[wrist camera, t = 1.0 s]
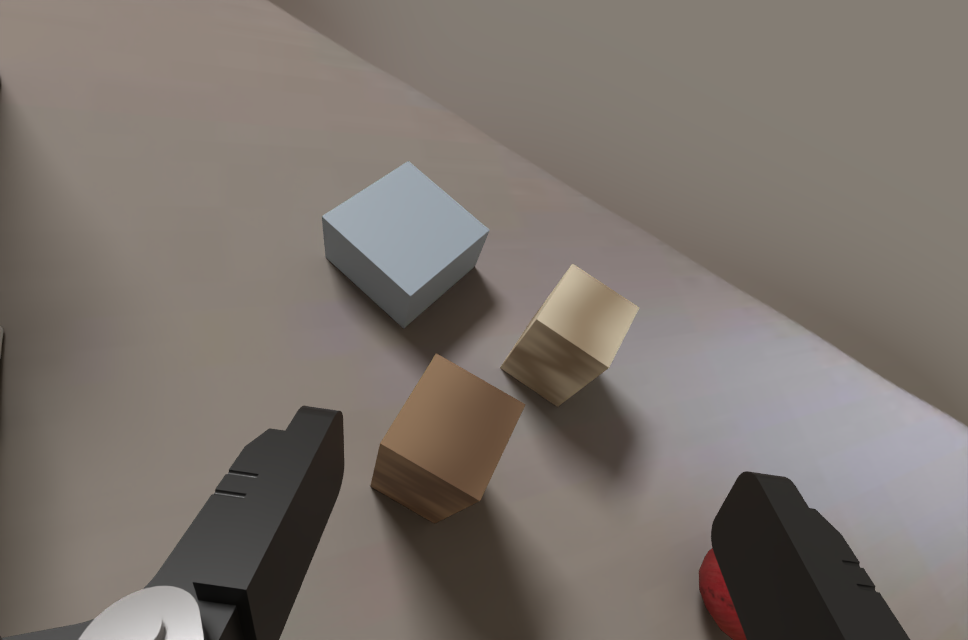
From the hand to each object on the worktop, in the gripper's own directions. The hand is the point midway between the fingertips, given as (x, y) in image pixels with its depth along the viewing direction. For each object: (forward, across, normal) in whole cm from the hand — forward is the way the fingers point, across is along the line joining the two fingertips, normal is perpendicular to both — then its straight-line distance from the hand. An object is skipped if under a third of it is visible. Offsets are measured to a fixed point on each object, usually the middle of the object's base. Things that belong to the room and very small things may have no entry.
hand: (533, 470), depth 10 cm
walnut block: (+14, +4, +16) cm, 22 cm away
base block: (+27, +8, +8) cm, 29 cm away
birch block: (+23, -4, +13) cm, 26 cm away
